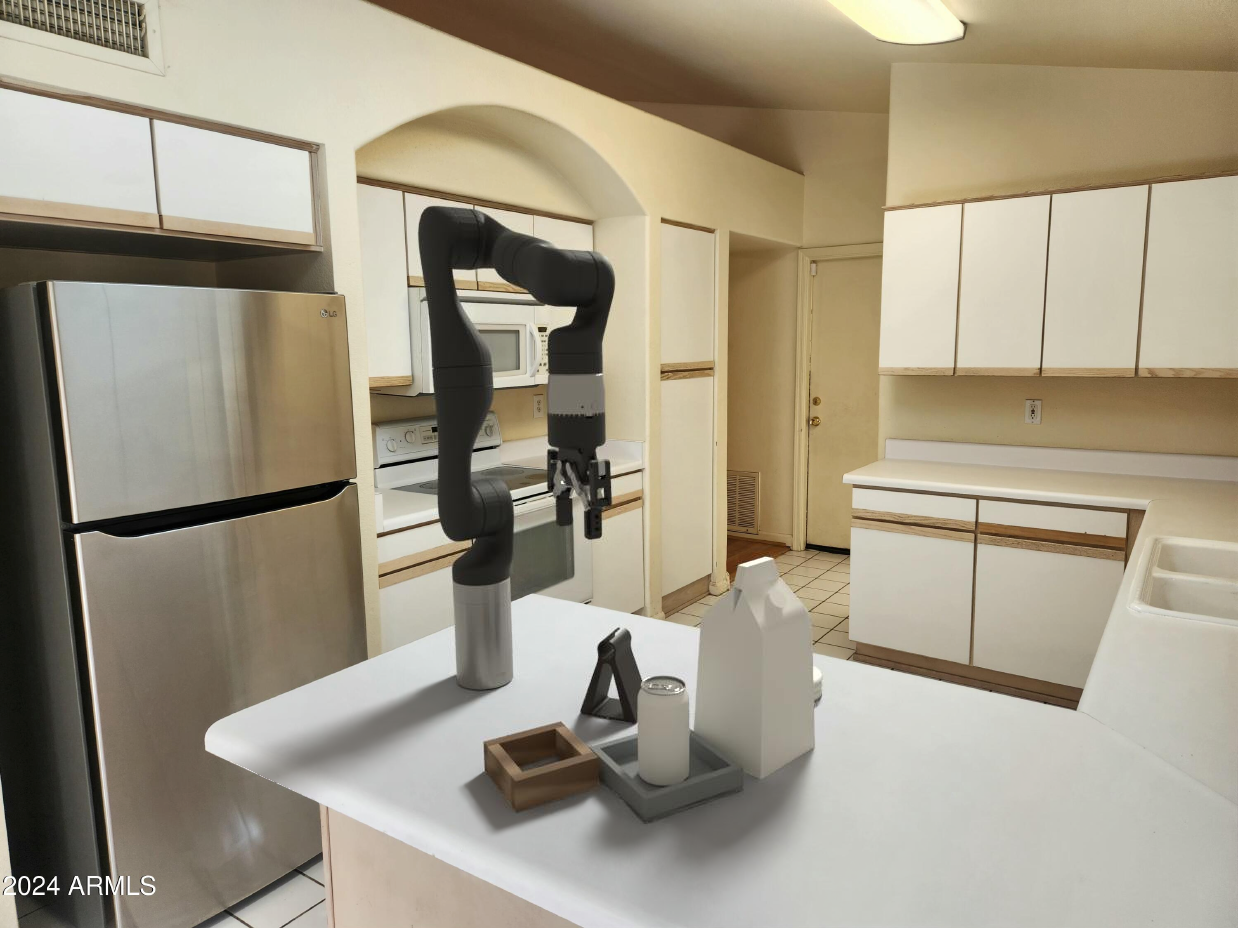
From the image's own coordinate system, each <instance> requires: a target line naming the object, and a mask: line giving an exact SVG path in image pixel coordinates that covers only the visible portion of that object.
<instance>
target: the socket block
mask: <svg viewBox="0 0 1238 928" xmlns="http://www.w3.org/2000/svg"><path fill="white" fill-rule="evenodd" d="M482 742H483V762H484V763H483V766H484V772H485V773H486V774H487V776H488V777H489V778H490V780H491V782H493V784H494V785H495V787H496V788H497V789H498V791H499V792H500V793H501V794H502V796H503V797H504V799H506V801H507V802H508V804H509V805H510V806H511V807H512V808H513V810H514V812H515V813H516V814H517V813H520V812H523V811H526V810H530V809H533V808H536V807H539V806H542V805H546V804H549V803H552V802H556V801H559V800H563V799H565V798H569V797H572V796H575V795H577V794H582V793H585V792H588V791H591V790H594V789H597V788H600V778H599V757H598V756H597V755H596V754H595V753H594V752H593V751H592V750H591V749H590V748H589V747H588V745H587V744H585V743H584V742H583V740H581V739H580V738H579V737H578V736H577V735H576V734H575V733H574V732H573V731H572V730H571V729H570V728H568V727H567V726H566V724H565V723H563V722H562V721H561V720H560V721H557V722H554V723H550V724H545V725H542V726H538V727H534V728H530V729H526V730H522V731H519V732H515V733H511V734H507V735H504V736H500V737H496V738H492V739H489V740H484V741H482ZM552 758H557V759H558V760H559V761H556V762H553V763H549V764H546V765H542V766H539V767H535V768H532V769H528V770H524V771H522V769H521V767H525V766H527V765H531V764H535V763H538V762H541V761H546V760H549V759H552Z"/></svg>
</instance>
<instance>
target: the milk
mask: <svg viewBox="0 0 1238 928" xmlns="http://www.w3.org/2000/svg"><path fill="white" fill-rule="evenodd" d="M735 573H736V574H735V578H734V582H733V586H732V588H731V589H729V590H728V591H727V592H726V593H725V594H723V596H721V597H720V598H719V599H718V600H717V601H715V602H714V603H713V604H712V605H710V607H709V608H707V609H706V610H705V612H704V613H703V615H702V616H701V619H700V626H699V644H698V658H697V672H696V675H697V676H696V690H695V704H694V705H695V706H694V719H693V720H694V722H693V731H694V732H695V733H697V734H698V735H699V736H701V737H702V738H704V739H705V740H706V741H708V742H709V743H710V744H712V745H713V746H715V747H716V748H717V749H719V750H720V751H721V752H723V753H724V754H726V755H727V756H728V757H730V758H731V759H732V760H734V761H735V762H737V763H738V764H739V765H741V766H742V767H743V773H745V774H748V775H751V776H752V777H754V778H756V779H758V780H763V779H764V778H766V777H767V776H769V775H771V774H772V773H774V772H776V771H777V770H779V769H781V768H782V767H784V766H787V764H789V763H790V762H793V761H794V760H796V759H797V758H798V757H800V756H803V755H804V754H805V753H807V752H809V751H810V750H813V749H814V748H815V747H816V734H815V733H816V731H815V729H816V728H815V701H814V682H813V666H814V651H813V649H814V648H813V646H814V645H813V620H812V616H811V614H810V612H809V610H808V609H807V608H806V606H805V605H804V604H803V602H802V601H801V600H800V599H799V597H798V596H797V595H796V594H795V593H794V592H793V591H792V589H791V588H790V587H789V586H788V585H787V583H786V582H785V581H784V580H783V579H782V578H781V577H780V572H779V569H778V567H777V564H776V560H775V558H773V557H769V556H763V557H760V558H757V559H753V560H750V561H747V562H744V563H739V564H738V565H737V570H736V572H735Z"/></svg>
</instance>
